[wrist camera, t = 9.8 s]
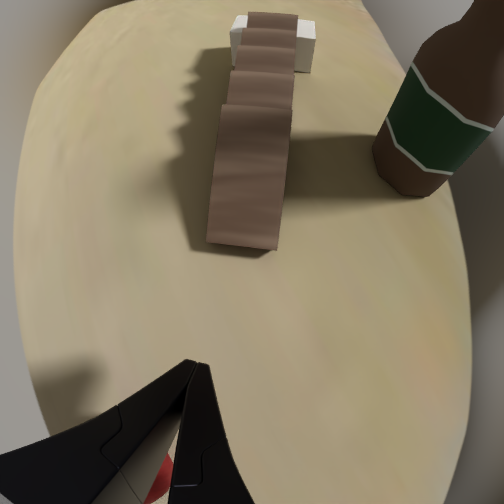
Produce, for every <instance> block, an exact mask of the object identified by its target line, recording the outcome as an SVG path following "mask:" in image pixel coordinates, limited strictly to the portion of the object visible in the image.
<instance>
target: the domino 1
mask: <svg viewBox="0 0 504 504" xmlns="http://www.w3.org/2000/svg"><path fill="white" fill-rule="evenodd" d="M291 121H292V110H288V109H279V108H269V107H258V106H245V105H226V104H222V108H221V115H220V122H219V129H218V136H217V144H216V152H215V160H214V168H213V177H212V186H211V195H210V204H209V214H208V225H207V235H206V242H210V243H219V244H227V245H235V246H243V247H252V248H260V249H268V250H276V251H277V247H278V239H279V231H280V222H281V214H282V205H283V197H284V188H285V179H286V170H287V160H288V151H289V141H290V131H291Z"/></svg>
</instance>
